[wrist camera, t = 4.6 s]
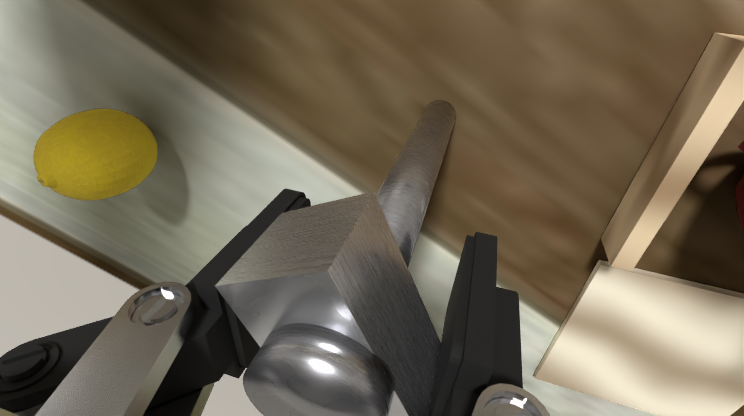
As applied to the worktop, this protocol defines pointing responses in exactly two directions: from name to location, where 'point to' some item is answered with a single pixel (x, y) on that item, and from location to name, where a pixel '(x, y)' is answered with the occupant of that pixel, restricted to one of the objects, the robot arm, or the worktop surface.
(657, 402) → the pad
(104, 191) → the lemon
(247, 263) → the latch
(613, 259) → the holder
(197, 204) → the worktop surface
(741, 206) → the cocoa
